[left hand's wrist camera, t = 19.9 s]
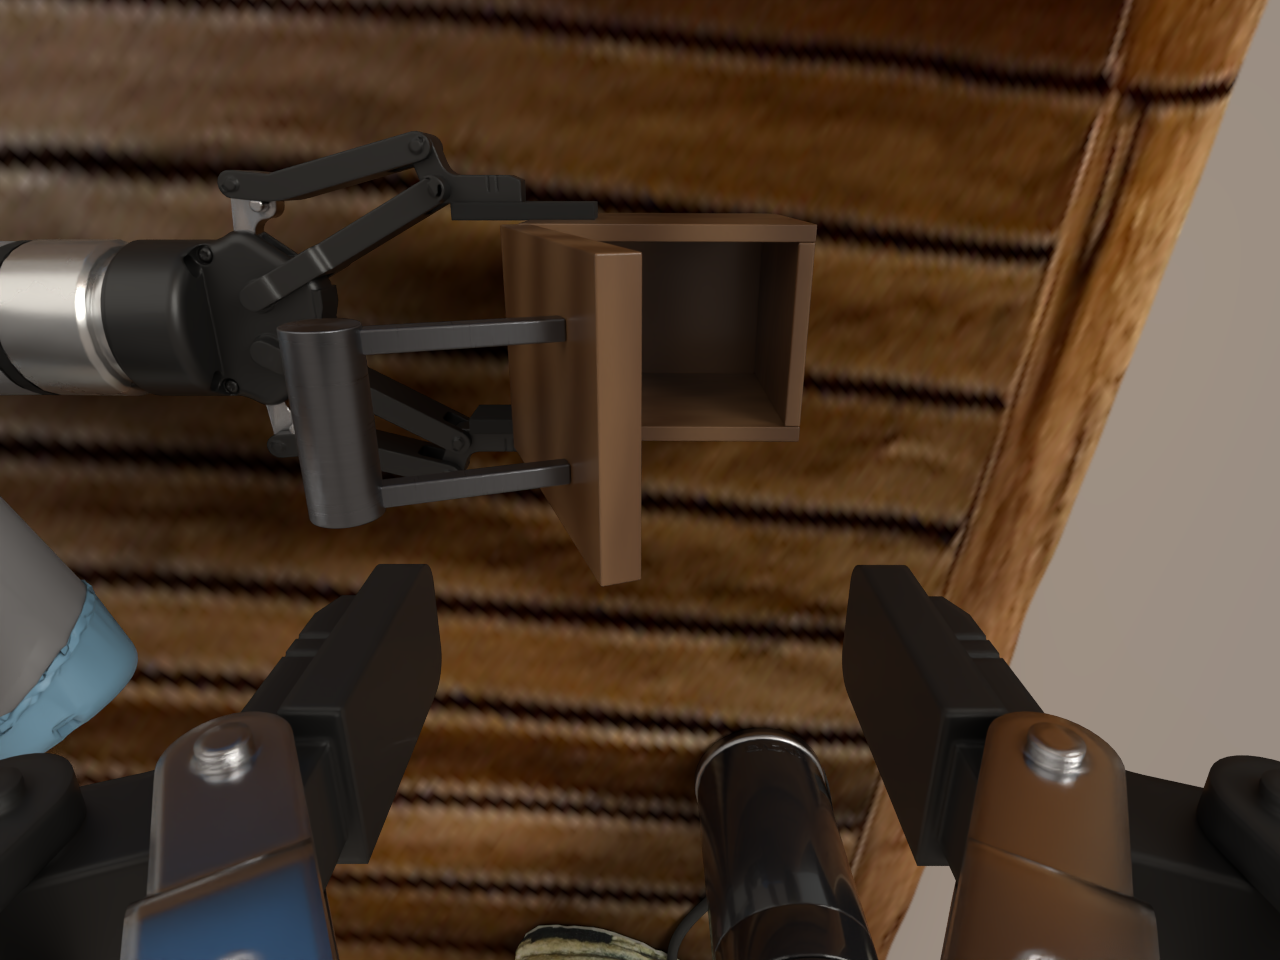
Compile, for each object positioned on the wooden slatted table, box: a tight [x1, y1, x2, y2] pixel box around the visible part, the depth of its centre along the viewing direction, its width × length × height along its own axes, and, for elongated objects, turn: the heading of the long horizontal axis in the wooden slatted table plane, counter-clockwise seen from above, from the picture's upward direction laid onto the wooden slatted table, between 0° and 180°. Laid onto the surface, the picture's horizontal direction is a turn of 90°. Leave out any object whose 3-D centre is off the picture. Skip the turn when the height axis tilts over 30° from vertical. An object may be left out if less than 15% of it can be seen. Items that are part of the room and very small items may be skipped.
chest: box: [520, 213, 817, 441], centre depth 38 cm, size 12×10×11 cm
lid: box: [277, 224, 642, 586], centre depth 25 cm, size 13×10×9 cm
